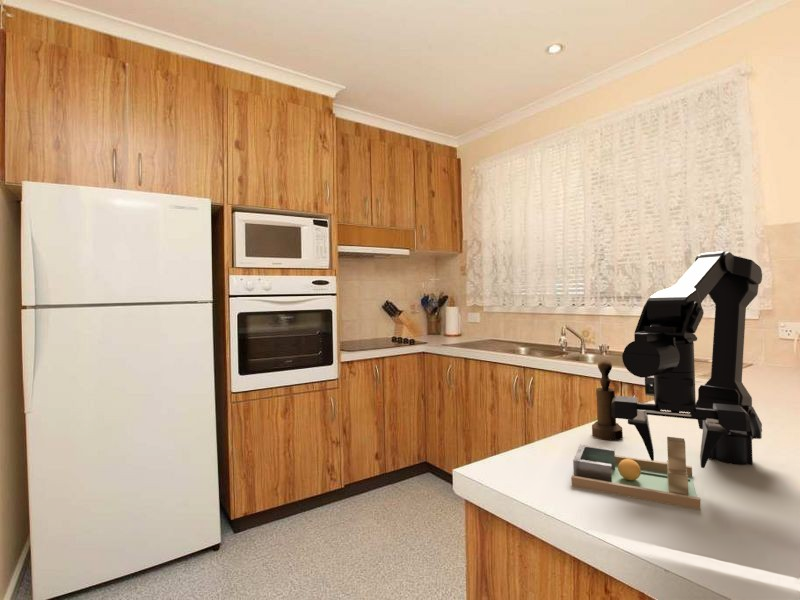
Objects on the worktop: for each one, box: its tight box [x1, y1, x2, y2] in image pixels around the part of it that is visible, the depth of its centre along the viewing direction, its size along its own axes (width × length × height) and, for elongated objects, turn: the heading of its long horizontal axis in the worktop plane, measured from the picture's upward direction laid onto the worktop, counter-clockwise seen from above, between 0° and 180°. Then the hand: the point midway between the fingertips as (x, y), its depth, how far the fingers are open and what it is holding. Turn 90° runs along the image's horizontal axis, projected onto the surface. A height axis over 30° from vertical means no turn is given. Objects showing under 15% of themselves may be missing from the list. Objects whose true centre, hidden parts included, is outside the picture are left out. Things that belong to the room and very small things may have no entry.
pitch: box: [571, 454, 702, 511], centre depth 73 cm, size 18×14×2 cm
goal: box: [572, 443, 616, 482], centre depth 76 cm, size 6×9×4 cm, turn 149°
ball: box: [618, 459, 641, 480], centre depth 73 cm, size 4×4×4 cm
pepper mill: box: [591, 359, 624, 441], centre depth 99 cm, size 7×6×18 cm
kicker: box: [666, 436, 688, 495], centre depth 69 cm, size 3×6×8 cm, turn 150°
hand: (676, 463), depth 69 cm, fingers open, 7 cm apart
